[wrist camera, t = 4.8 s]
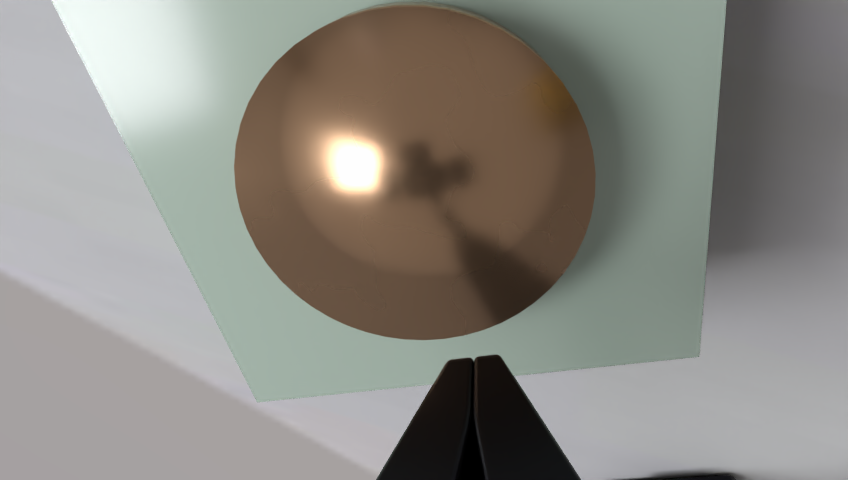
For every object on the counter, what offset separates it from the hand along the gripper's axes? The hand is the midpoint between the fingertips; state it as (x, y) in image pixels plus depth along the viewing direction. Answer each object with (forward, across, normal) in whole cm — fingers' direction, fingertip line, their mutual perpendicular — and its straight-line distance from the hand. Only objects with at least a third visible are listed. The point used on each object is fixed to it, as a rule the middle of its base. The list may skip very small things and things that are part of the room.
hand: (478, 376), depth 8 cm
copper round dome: (+9, +1, -1) cm, 10 cm away
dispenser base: (+11, +1, -1) cm, 11 cm away
